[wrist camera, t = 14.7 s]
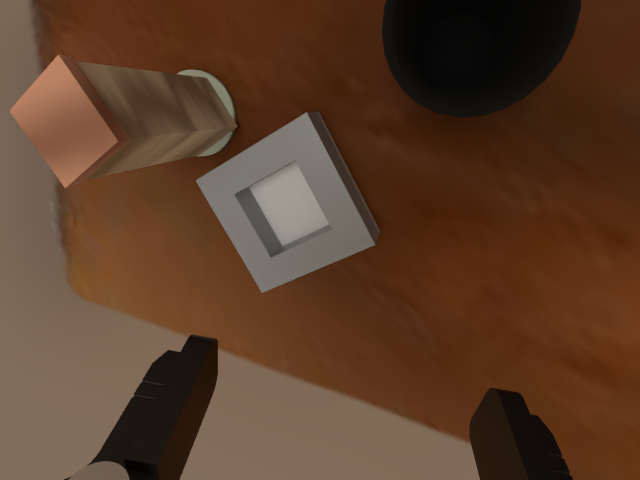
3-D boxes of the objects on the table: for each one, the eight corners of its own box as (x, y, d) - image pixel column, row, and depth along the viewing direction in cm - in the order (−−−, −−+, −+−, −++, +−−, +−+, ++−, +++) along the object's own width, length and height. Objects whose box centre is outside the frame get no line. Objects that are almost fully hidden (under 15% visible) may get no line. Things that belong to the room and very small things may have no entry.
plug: (168, 108, 33) (9, 110, 20) (207, 75, 31) (58, 54, 18) (200, 157, 34) (65, 188, 21) (240, 127, 32) (118, 141, 19)
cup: (377, 66, 28) (346, 42, 17) (453, -36, 25) (475, -145, 14) (456, 134, 28) (475, 152, 17) (542, 41, 25) (631, -8, 14)
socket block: (216, 173, 34) (195, 180, 31) (318, 111, 30) (306, 112, 27) (276, 276, 36) (262, 292, 33) (380, 231, 32) (375, 244, 29)
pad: (149, 98, 34) (145, 97, 33) (207, 53, 31) (203, 52, 30) (191, 168, 35) (188, 169, 34) (251, 131, 32) (247, 131, 32)
